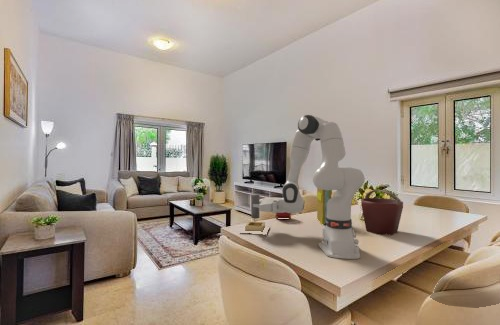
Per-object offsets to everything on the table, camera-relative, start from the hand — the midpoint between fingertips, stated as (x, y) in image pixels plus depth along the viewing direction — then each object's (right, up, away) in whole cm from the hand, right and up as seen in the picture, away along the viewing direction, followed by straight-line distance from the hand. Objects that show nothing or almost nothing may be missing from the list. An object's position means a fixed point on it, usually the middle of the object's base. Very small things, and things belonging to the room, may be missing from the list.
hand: (253, 204), depth 152 cm
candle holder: (+1, -16, 0) cm, 16 cm away
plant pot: (+22, -16, +31) cm, 42 cm away
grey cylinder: (+1, -8, 0) cm, 8 cm away
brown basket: (+76, -16, -2) cm, 78 cm away
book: (+49, -16, +22) cm, 56 cm away
